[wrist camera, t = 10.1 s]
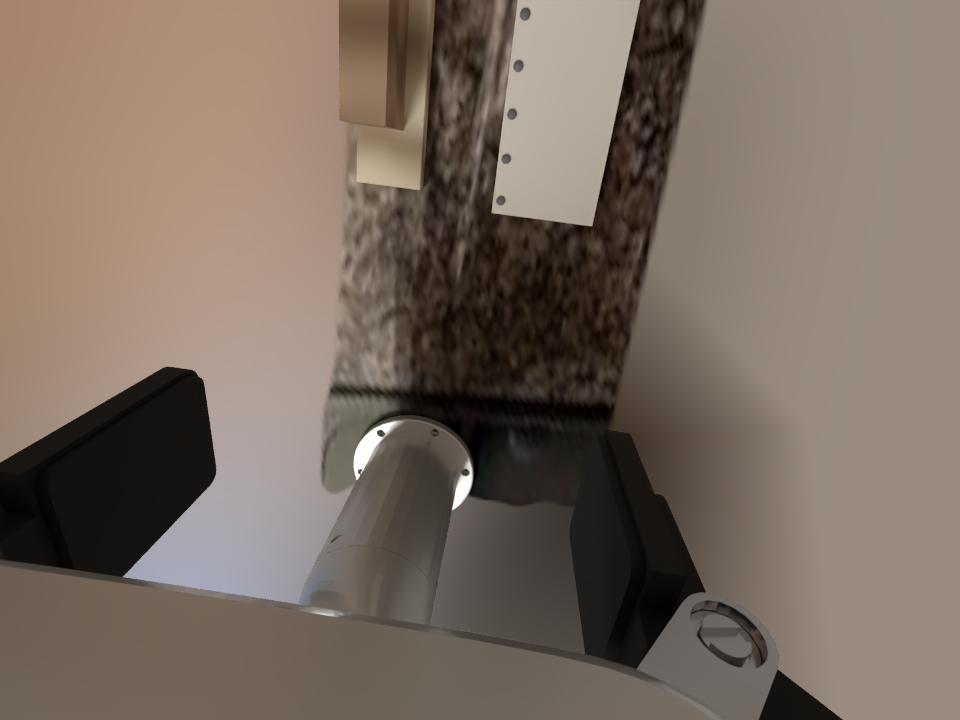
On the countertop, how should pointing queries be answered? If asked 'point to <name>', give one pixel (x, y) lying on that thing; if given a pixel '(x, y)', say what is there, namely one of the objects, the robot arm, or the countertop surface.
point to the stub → (387, 86)
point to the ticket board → (561, 106)
